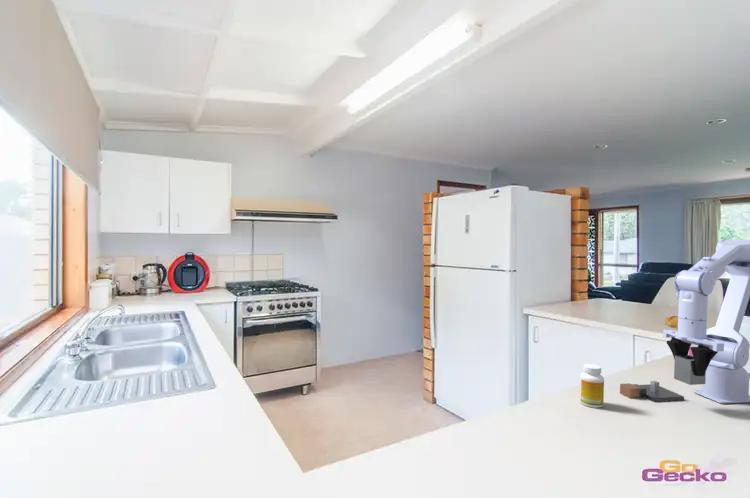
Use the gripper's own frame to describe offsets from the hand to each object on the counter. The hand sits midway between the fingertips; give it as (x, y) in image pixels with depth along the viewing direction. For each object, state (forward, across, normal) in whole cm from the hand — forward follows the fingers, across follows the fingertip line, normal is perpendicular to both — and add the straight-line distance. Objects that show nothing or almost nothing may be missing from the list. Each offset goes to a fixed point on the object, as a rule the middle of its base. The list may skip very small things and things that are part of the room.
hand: (690, 372), depth 102 cm
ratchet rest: (+9, -9, -4) cm, 13 cm away
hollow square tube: (+2, 0, 0) cm, 2 cm away
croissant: (+10, -84, +87) cm, 121 cm away
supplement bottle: (+9, -5, -24) cm, 26 cm away
